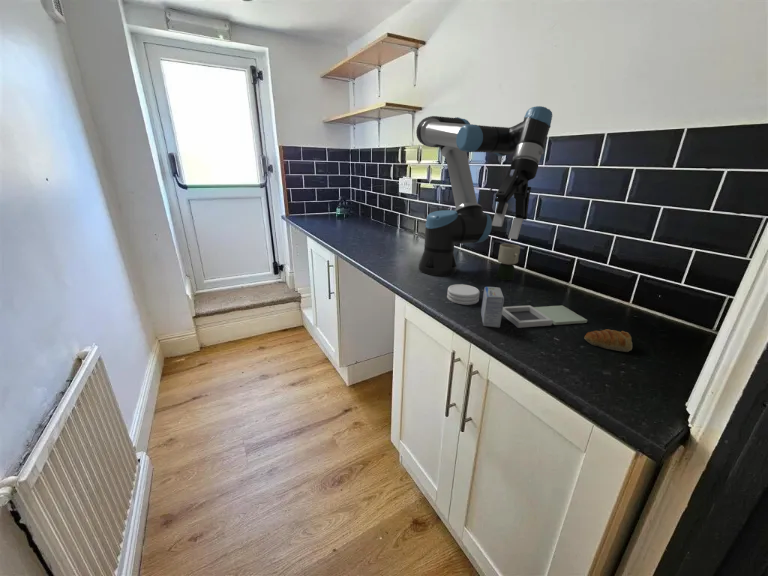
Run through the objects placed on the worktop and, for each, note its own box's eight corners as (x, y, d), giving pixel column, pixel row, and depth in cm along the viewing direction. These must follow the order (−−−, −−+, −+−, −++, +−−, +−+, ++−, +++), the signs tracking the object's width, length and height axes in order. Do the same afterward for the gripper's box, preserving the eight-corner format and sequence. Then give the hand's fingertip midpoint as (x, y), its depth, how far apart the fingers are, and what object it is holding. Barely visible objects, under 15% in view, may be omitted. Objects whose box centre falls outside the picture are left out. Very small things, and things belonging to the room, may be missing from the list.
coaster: (441, 295, 107) (442, 285, 106) (467, 292, 110) (468, 282, 109) (457, 307, 98) (458, 296, 97) (485, 303, 101) (486, 293, 100)
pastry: (589, 349, 77) (593, 334, 76) (579, 335, 83) (582, 322, 82) (633, 354, 75) (638, 339, 74) (620, 340, 82) (624, 326, 80)
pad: (532, 309, 97) (532, 307, 97) (561, 307, 99) (562, 305, 99) (554, 325, 88) (555, 322, 88) (586, 322, 90) (587, 320, 90)
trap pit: (498, 311, 95) (499, 307, 95) (529, 309, 97) (530, 305, 96) (518, 327, 86) (519, 322, 85) (551, 325, 88) (552, 320, 87)
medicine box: (499, 328, 86) (505, 298, 82) (482, 326, 86) (487, 296, 83) (496, 315, 93) (501, 287, 90) (480, 313, 94) (484, 285, 91)
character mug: (521, 283, 119) (528, 249, 114) (504, 284, 117) (510, 249, 113) (505, 274, 129) (510, 242, 124) (488, 275, 127) (493, 242, 123)
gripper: (525, 141, 83) (502, 221, 84) (549, 180, 102) (530, 244, 103) (497, 142, 88) (476, 218, 89) (525, 179, 107) (507, 241, 108)
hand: (505, 232), depth 96 cm, fingers open, 13 cm apart
